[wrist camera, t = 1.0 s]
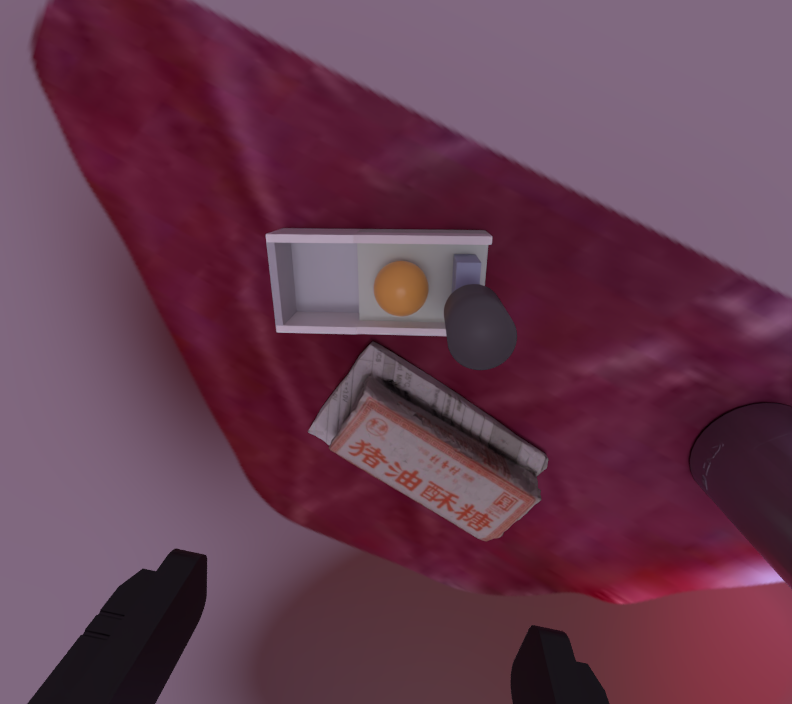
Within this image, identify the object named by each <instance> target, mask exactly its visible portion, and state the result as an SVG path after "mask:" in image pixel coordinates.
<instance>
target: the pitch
mask: <svg viewBox="0 0 792 704" xmlns="http://www.w3.org/2000/svg"><path fill="white" fill-rule="evenodd" d="M353 240H354V243H357V256H358V288H359V319H360V321H359V323H358V325H357V334H380V335H420V336H447V335H446V328H445V320H444V306H445V303H446V301H447V299H448V297H449V296H450V295H451V293H452V275H453V257H454V254H476V256H477V257H478V259H479V260H480V262H481V273H480V285H483V286H485V277H486V265H487V254H488V245H492V236H491V235H490V234H489V233H488V232H487V231H485V230H417V229H360V230H359V231H358V232H356V233H355V234H354V235H353ZM395 261H407V262H411V263H413V264H415V265H417V266H418V267H419V268H420V269H421V270H422V271H423V272H424V274H425V276H426V278H427V281H428V285H429V291H428V296H427V299H426V302H425V303H424V305H423V306H422V307H421V308H420V309H419V310H418V311H417V312H415V313H413V314H411V315H408V316H394V315H391V314H389V313H387V312H385V311H384V310H383V309H382V308H381V307H380V306H379V304H378V303H377V301H376V299H375V296H374V281H375V278H376V276H377V274H378V273H379V271H380V270H381V269H382V268H383V267H384V266H386V265H387V264H389V263H391V262H395Z"/></svg>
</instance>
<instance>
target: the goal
mask: <svg viewBox="0 0 792 704" xmlns="http://www.w3.org/2000/svg"><path fill="white" fill-rule="evenodd" d="M359 230H360V229H320V228H282V229H279V230H276V231H273V232H270V233H267V234H266V243H267V252H268V261H269V269H270V278H271V287H272V296H273V305H274V314H275V323H276V332H280V333H320V334H357V325H358V323H359V321H360V319H359V288H358V256H357V243H354V240H353V235H354V234H355V233H356V232H358V231H359Z"/></svg>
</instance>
